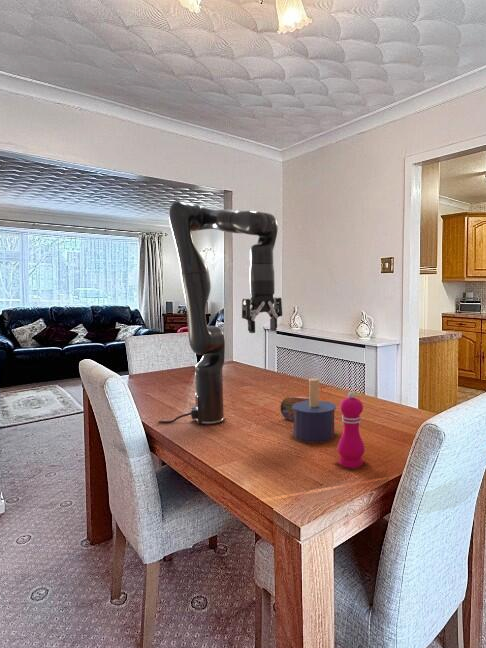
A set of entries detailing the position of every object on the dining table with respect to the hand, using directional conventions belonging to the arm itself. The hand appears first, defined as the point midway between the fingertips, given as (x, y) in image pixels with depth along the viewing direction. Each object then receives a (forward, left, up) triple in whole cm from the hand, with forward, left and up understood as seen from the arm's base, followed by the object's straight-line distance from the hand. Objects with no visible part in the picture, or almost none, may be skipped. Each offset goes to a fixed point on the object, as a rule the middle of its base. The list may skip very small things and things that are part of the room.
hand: (262, 331), depth 142 cm
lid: (+14, -8, -24) cm, 29 cm away
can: (+14, -8, -33) cm, 37 cm away
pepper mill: (+15, -32, -33) cm, 49 cm away
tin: (+16, +9, -33) cm, 38 cm away
